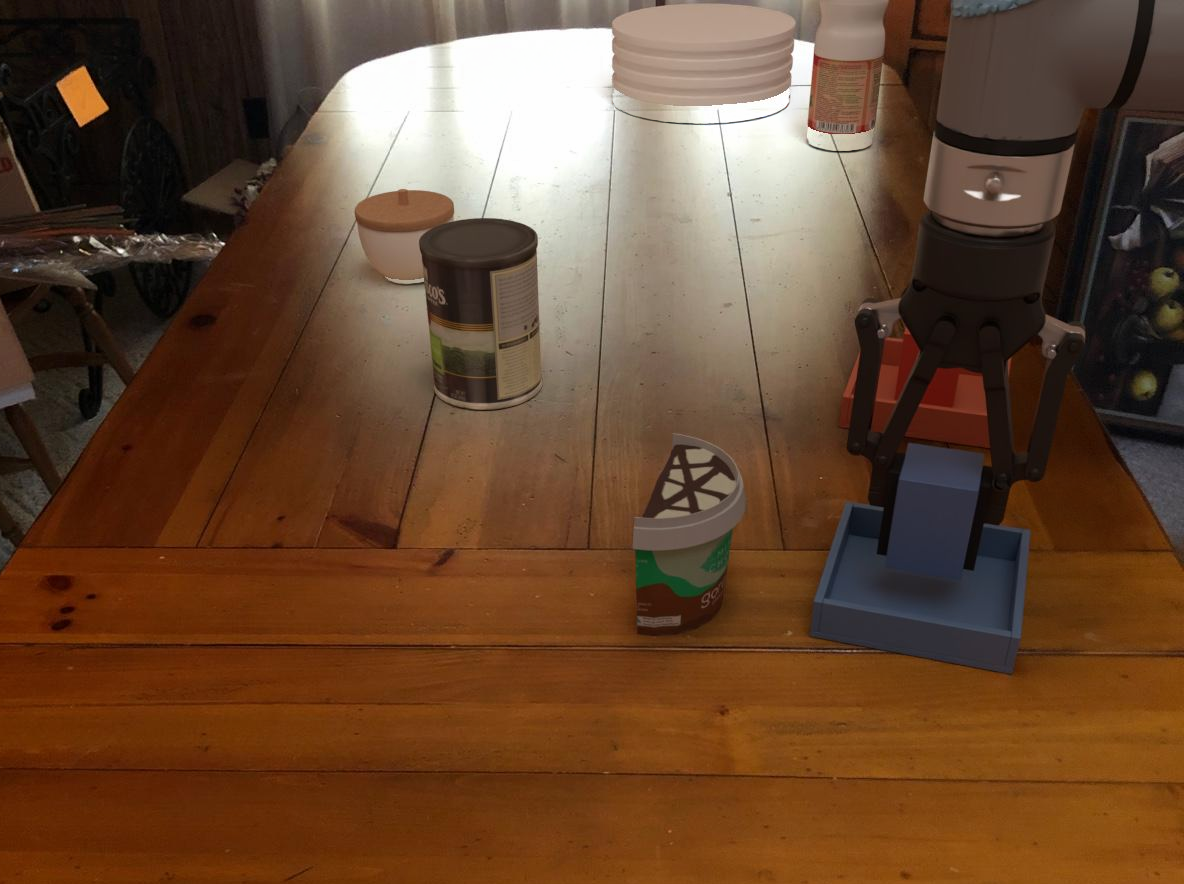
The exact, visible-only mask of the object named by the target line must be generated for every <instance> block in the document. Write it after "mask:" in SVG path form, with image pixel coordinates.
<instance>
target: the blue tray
mask: <svg viewBox="0 0 1184 884" xmlns="http://www.w3.org/2000/svg"><path fill="white" fill-rule="evenodd" d="M883 509H884V507H877V506H871V505H870V504H869V503H868V504H866V503H861V502H854V501H845V502H844V505H843V508H842V512H841V515H840V518H839V521H838V524H837V527H836V530H835V533H834V536H833V539H832V542H831V546H830V549H829V551H828V555H827V558H826V561H825V564H824V568H823V571H822V574H821V577H820V580H819V584H818V586H817V589H816V592H815V595H814V598H813V602H812V611H811V621H810V628H809V629H810V630H809V637H812V638H815V639H816V638H817V639H821V640H828V641H832V642H838V643H841V644H842V643H843V644H849V645H852V646H853V645H854V646H859V647H864V648H869V649H875V650H880V651H885V652H891V653H897V654H900V655H901V654H902V655H907V656H911V657H912V656H913V657H917V658H923V659H928V660H934V661H939V662H943V663H949V664H955V665H960V666H965V667H969V668H970V667H971V668H974V669H975V668H976V669H981V670H987V671H991V672H996V673H1002V674H1008V675H1013V673H1014V668H1015V664H1016V660H1017V656H1018V651H1019V649H1020V644H1021V640H1022V632H1023V620H1024V608H1025V598H1026V587H1027V576H1028V567H1029V566H1028V565H1029V557H1030V556H1029V554H1030V553H1029V552H1030V544H1031V535H1032V534H1031V533H1032V530H1031V529H1027V528H1021V527H1016V526H1015V527H1013V526H1008V525H1002V524H1000V525H999V526H998V525H991V524H985V523H984V526H983V530H982V535H981V540H980V544H979V549H978V554H977V558H976V563H975V568H974V571H971V570H966V569H963V571H962V576H961V580H954V579H948V578H942V577H937V576H931V575H925V574H919V573H914V572H908V571H902V570H896V569H890V568H885V562H886V556H884V555H878V554H877V548H878V541H879V535H880V528H881V522H882V516H883Z"/></svg>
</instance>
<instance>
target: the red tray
mask: <svg viewBox="0 0 1184 884" xmlns="http://www.w3.org/2000/svg"><path fill="white" fill-rule="evenodd" d="M902 343H903V338H898V337H897V338H896V337H890V336H889V337H888V338H886V339H885V343H884V350H883V356H882V362H881V369H880V375H879V382H878V388H877V394H876V401H875V407H874V413H873V420H872V426H871V430H872V431H874V432H876V433H878V434H882V432H883V430H884V428H885V426H886V423H887V421H888V419H889V417H890V415H891V413H892V410H893V408H894V406H895V404H896V402H897V401H896V400H894V398H895V391H896V384H897V377H898V370H899V364H900V357H901V350H902ZM860 350H861V348H860V349H859V352H858V355H857V358H856V360H855V363H854V366H853V368H852V371H851V374H850V376H849V379H848V381H847V384H846V387H845V390H844V392H843V395H842V401H841V408H840V417H839V425H838V427H839V428H842V429H848V430H849V426H850V419H851V412H852V405H853V399H854V392H855V385H856V378H857V371H858V364H859V357H860ZM1012 358H1013V356H1012V357H1011V358H1010V359H1009V360H1008V378H1009V377H1010V371H1011V365H1012ZM904 437H907V438H912V439H913V438H914V439H921V440H928V441H934V442H935V441H936V442H943V443H949V444H956V445H963V446H971V447H978V448H984V449H990V442H989V431H988V420H987V409H986V398H985V390H984V387H983V376H982V373H975V372H971V371H969V370H966V369H963V368H960V373H959V379H958V384H957V390H956V395H955V399H954V404H953V408H949V407H942V406H934V405H926V404H919V406H918V409H917V411H916V413H915V415H914V417H913V419H912V421H911V423H910V425H909V427H908V429H907V432H906V434H905V436H904Z"/></svg>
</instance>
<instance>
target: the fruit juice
mask: <svg viewBox="0 0 1184 884" xmlns="http://www.w3.org/2000/svg"><path fill="white" fill-rule="evenodd" d="M889 2H890V0H819V8H820V15H821V17H820V23H819V24H818V27H817V29H816V32H815V38H814V45H813V55H812V56H813V58H812V69H811V80H810V93H809V104H808V113H807V114H808V115H807V125H808V127H810V128H811V129H813V130H816V131H819V132H823V133H828V134H855V133H861V132H866V131H869V130H871V129H873V128H874V127H875V128H876V122H877V114H878V107H879V98H880V97H879V96H880V88H881V79H882V71H883V63H884V55H885V47H886V29H885V25H884V16H885V14H886V11H887V8H888V5H889Z"/></svg>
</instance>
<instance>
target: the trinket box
mask: <svg viewBox="0 0 1184 884" xmlns="http://www.w3.org/2000/svg"><path fill="white" fill-rule="evenodd" d="M454 203H455V202H454V201H453V200H452V198H450V197H449V196H447V195H446V194H442V193H440V192H436V191H429V190H423V189H422V190H421V189H420V190H418V189H406V188H400V189H398V190H394V191H392V190H391V191H387V192H382V193H378V194H375V195H372V196H369V197H366V198H364V199H363V200H361V201H359V202H358V203H357V204H356V206H355V208H354V218H355V220H356V224H357V231H358V237H359V241H360V244H361V248H362V250H363V253H364V256H365V257H366V259H367V261H368V262H369V264H370V265H371V267H373V268H374V270H376V272H378V273H379V274H381V276H383V277H384V276H386V277H388V278H391V279H399V280H415V279H421V278H424V274H423V263H422V254H421V252H420V247H419V239H420V237H421V236H422V235H423V234H424V233H425V232H427V231H428V230H430V229H432V228H434V227H436V226H439V225H442V224H445V223H448V222H453V221H455V217H454V214H455V204H454Z"/></svg>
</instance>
